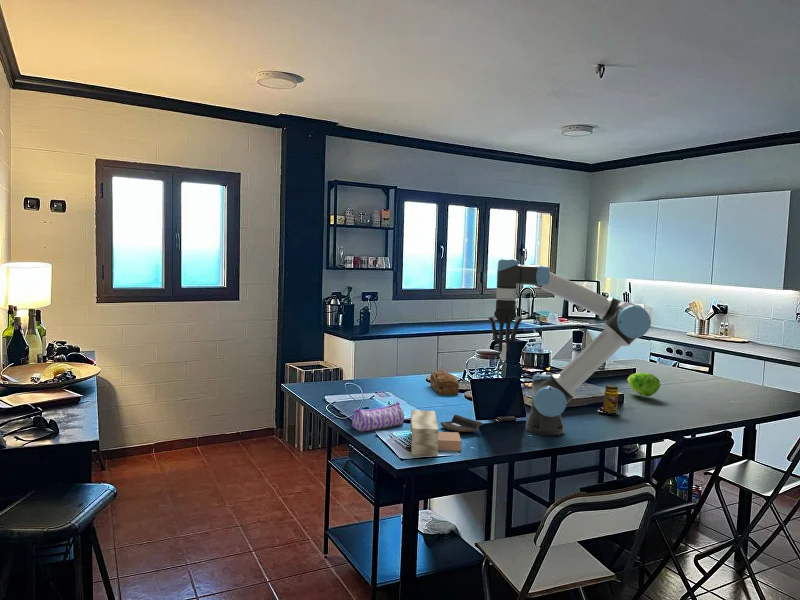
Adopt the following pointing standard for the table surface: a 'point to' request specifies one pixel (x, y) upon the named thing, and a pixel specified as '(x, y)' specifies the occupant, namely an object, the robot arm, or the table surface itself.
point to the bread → (444, 383)
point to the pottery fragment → (462, 424)
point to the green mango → (644, 383)
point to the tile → (449, 441)
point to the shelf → (424, 433)
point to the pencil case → (378, 418)
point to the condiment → (610, 399)
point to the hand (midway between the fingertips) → (503, 360)
